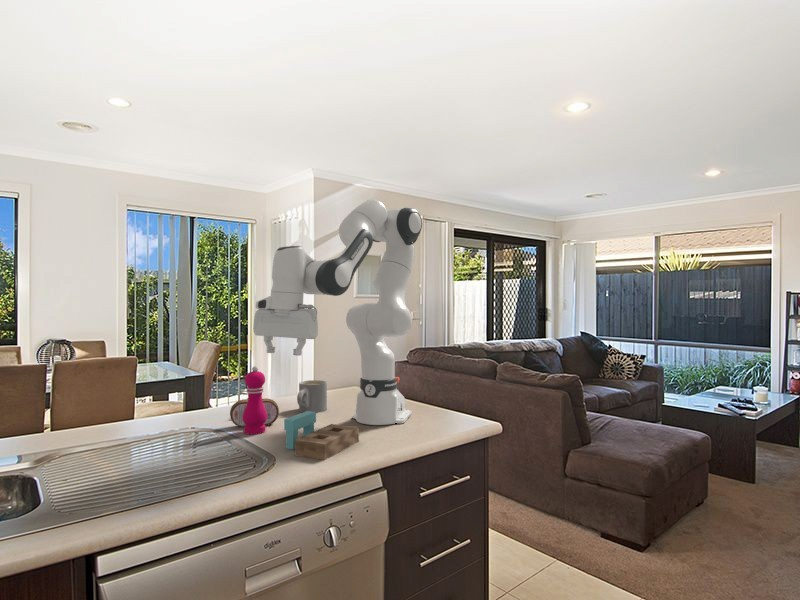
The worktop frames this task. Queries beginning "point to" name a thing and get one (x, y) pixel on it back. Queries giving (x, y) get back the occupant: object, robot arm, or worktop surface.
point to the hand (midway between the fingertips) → (283, 354)
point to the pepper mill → (254, 403)
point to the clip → (298, 426)
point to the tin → (240, 406)
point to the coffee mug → (312, 396)
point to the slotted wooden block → (326, 441)
